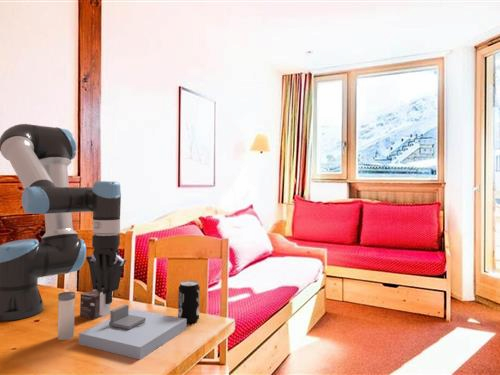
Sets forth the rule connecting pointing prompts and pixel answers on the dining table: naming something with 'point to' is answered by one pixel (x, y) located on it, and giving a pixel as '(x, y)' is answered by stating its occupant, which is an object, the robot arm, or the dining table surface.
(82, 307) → the box
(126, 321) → the grey l-shaped block
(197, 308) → the beverage can
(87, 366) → the dining table surface
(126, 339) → the socket board
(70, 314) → the plug
